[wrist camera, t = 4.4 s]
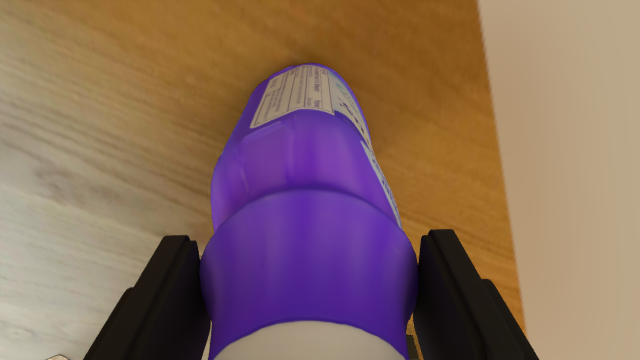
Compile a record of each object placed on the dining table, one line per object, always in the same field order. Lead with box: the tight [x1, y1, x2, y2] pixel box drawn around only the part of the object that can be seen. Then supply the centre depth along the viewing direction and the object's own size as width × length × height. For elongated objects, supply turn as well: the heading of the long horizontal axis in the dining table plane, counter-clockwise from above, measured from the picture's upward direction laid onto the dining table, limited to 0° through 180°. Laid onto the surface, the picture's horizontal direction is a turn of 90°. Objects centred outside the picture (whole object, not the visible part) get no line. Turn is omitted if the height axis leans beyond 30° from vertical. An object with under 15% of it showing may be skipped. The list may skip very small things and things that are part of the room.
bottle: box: [199, 63, 419, 360], centre depth 14 cm, size 7×6×17 cm
